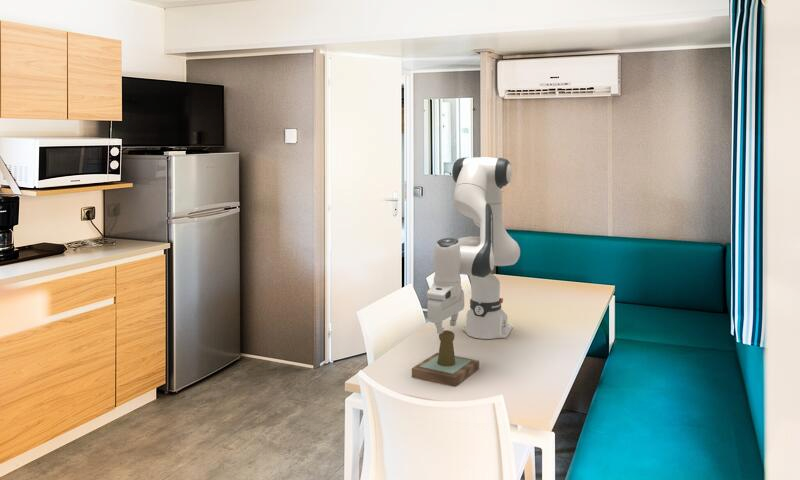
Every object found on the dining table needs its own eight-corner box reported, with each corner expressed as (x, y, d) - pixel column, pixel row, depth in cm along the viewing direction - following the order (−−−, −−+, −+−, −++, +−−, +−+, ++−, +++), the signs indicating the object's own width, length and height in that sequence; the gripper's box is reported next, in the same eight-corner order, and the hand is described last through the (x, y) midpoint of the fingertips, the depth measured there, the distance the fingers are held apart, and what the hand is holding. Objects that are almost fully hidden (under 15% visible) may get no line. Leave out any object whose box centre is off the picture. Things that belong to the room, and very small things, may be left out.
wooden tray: (437, 360, 229) (437, 351, 228) (479, 369, 221) (479, 359, 220) (411, 376, 213) (411, 367, 213) (455, 386, 205) (455, 376, 205)
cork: (454, 360, 220) (454, 328, 218) (456, 366, 214) (456, 334, 212) (436, 360, 220) (436, 328, 218) (438, 366, 214) (438, 334, 212)
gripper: (452, 280, 223) (452, 319, 225) (423, 294, 205) (423, 336, 208) (469, 283, 220) (468, 322, 222) (441, 296, 202) (441, 339, 205)
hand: (446, 329), depth 215 cm, fingers open, 8 cm apart
